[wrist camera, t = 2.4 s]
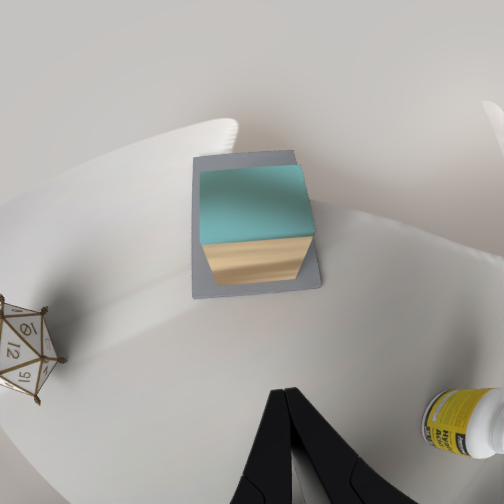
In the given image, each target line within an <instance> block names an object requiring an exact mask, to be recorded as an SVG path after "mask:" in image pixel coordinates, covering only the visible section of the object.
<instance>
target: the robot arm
mask: <svg viewBox="0 0 504 504" xmlns="http://www.w3.org/2000/svg"><path fill="white" fill-rule="evenodd" d="M358 456H359V455H358V454H357V453H356V452H355V451H354V450H353V449H352V448H351V447H350V446H349V445H348V444H347V443H346V441H345V440H344V439H343V438H342V437H341V436H340V435H339V434H338V433H337V432H336V431H335V430H334V429H333V427H332V426H331V425H330V424H329V423H328V422H327V421H326V420H325V419H324V417H323V416H322V415H321V414H320V413H319V412H318V411H317V410H316V409H315V407H314V406H313V405H312V404H311V403H310V402H309V401H308V399H307V398H306V397H305V396H304V395H303V394H302V393H301V391H300V390H299V389H298V388H296V387H292V388H285V389H284V390H283V389H275V390H271V391H270V393H269V397H268V400H267V403H266V406H265V409H264V412H263V416H262V419H261V422H260V425H259V428H258V431H257V434H256V437H255V440H254V443H253V445H252V448H251V451H250V454H249V457H248V460H247V463H246V465H245V468H244V471H243V474H242V475H243V476H241V479H240V481H239V484H238V486H237V489H236V491H235V493H234V496H233V498H232V500H231V502H230V504H292V459H293V463H294V466H295V470H296V473H297V476H298V480H299V483H300V487H301V490H302V493H303V497H304V500H305V503H306V504H419V503H417V502H415V501H414V500H412V499H411V498H409V497H408V496H407V495H405V494H404V493H402V492H401V491H399V490H398V489H397V488H395V487H394V486H392V485H391V484H390V483H388V482H387V481H386V480H385V479H383V478H382V477H381V476H380V475H378V474H377V473H376V472H375V471H374V470H373V469H372V468H371V467H370V466H369V465H368V464H367V463H366V462H365V461H364V460H363V459H362V458H361V457H358Z"/></svg>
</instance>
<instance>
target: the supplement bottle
mask: <svg viewBox="0 0 504 504" xmlns="http://www.w3.org/2000/svg"><path fill="white" fill-rule="evenodd" d="M422 435H423V437H424V439H425V441H426V442H427V443H428V444H430V445H432V446H434V447H437V448H440V449H444V450H447V451H450V452H453V453H457V454H461V455H465V456H469V457H472V458H477V459H485V458H489V457H491V456H493V455H494V454H496V453H499V454H504V388H488V389H453V390H446V391H443V392H441V393H440V394H438V395H437V396H436V397H435V398H434V399H433V400H432V401H431V402H430V404H429V405H428V407H427V409H426V411H425V413H424V416H423V419H422Z"/></svg>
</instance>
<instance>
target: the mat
mask: <svg viewBox="0 0 504 504" xmlns="http://www.w3.org/2000/svg"><path fill="white" fill-rule="evenodd" d="M285 165H297V163H296V159H295V155H294V151H293V150H287V151H265V152H248V153H235V154H223V155H213V156H203V157H194V158H193V182H192V297H193V298H194V299H201V298H215V297H228V296H241V295H253V294H264V293H274V292H285V291H295V290H304V289H313V288H320V287H321V286H322V285H321V279H320V274H319V268H318V262H317V257H316V251H315V246H314V241H313V238H312V241H311V243H310V246H309V248H308V250H307V253H306V255H305V257H304V260H303V262H302V264H301V267H300V269H299V271H298V274H297V276H296V278H295V279H290V280H279V281H268V282H257V283H246V284H234V285H221V286H218V285H217V283H216V280H215V278H214V275H213V273H212V270H211V268H210V265H209V263H208V260H207V258H206V255H205V252H204V250H203V247H202V245H201V243H200V217H199V207H200V172H205V171H214V170H225V169H237V168H250V167H265V166H285Z"/></svg>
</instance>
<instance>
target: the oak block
mask: <svg viewBox="0 0 504 504" xmlns="http://www.w3.org/2000/svg"><path fill="white" fill-rule="evenodd" d="M199 217H200V243H201V245H202V247H203V250H204V252H205V255H206V258H207V260H208V263H209V265H210V268H211V270H212V273H213V275H214V278H215V280H216V283H217V285H218V286H221V285H234V284H246V283H257V282H268V281H279V280H290V279H295V278H296V276H297V274H298V271H299V269H300V267H301V264H302V262H303V260H304V257H305V255H306V253H307V250H308V248H309V246H310V243H311V241H312V238H313V236H314V234H315V232H316V230H315V225H314V220H313V216H312V211H311V206H310V202H309V197H308V193H307V189H306V185H305V180H304V176H303V172H302V168H301V165H285V166H265V167H250V168H237V169H225V170H214V171H205V172H200V207H199Z"/></svg>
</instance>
